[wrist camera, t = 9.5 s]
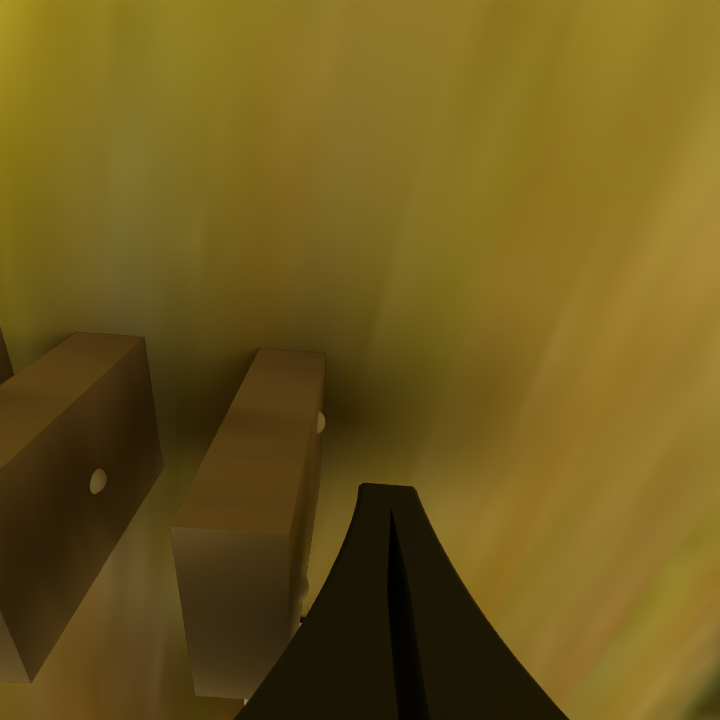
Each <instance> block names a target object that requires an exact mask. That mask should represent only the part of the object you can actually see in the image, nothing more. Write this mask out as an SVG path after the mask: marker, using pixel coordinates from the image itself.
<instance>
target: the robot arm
mask: <svg viewBox="0 0 720 720" xmlns="http://www.w3.org/2000/svg"><path fill="white" fill-rule="evenodd" d="M234 720H569V718H568V717H567V716H566V715H565V714H564V713H563V712H562V711H561V710H560V709H559V708H558V707H557V706H556V704H555V703H554V702H553V701H552V700H551V699H550V697H549V696H548V695H547V694H546V693H545V692H544V690H543V689H542V688H541V687H540V686H539V684H538V683H537V682H536V681H535V680H534V679H533V677H532V676H531V675H530V674H529V673H528V672H527V670H526V669H525V668H524V667H523V666H522V664H521V663H520V662H519V661H518V660H517V658H516V657H515V656H514V655H513V653H512V652H511V651H510V649H509V648H508V647H507V645H506V644H505V643H504V642H503V640H502V639H501V638H500V636H499V635H498V634H497V632H496V631H495V630H494V628H493V627H492V625H491V624H490V623H489V621H488V620H487V618H486V617H485V616H484V614H483V613H482V611H481V610H480V608H479V607H478V605H477V604H476V602H475V601H474V599H473V598H472V596H471V595H470V593H469V592H468V590H467V588H466V587H465V585H464V584H463V582H462V580H461V579H460V577H459V575H458V574H457V572H456V570H455V569H454V567H453V565H452V564H451V562H450V560H449V558H448V556H447V554H446V553H445V551H444V549H443V547H442V545H441V543H440V542H439V540H438V538H437V536H436V534H435V532H434V530H433V528H432V526H431V524H430V522H429V519H428V517H427V515H426V513H425V511H424V508H423V506H422V504H421V501H420V499H419V496H418V494H417V491H416V490H415V489H414V487H412V486H399V485H386V484H373V483H363V484H361V485H360V486H359V489H358V498H357V503H356V507H355V511H354V514H353V517H352V521H351V524H350V526H349V529H348V532H347V534H346V537H345V539H344V542H343V544H342V547H341V549H340V552H339V554H338V556H337V558H336V560H335V562H334V564H333V567H332V569H331V571H330V573H329V575H328V577H327V579H326V581H325V583H324V585H323V587H322V589H321V591H320V593H319V594H318V596H317V598H316V600H315V602H314V603H313V605H312V607H311V609H310V610H309V612H308V614H307V616H306V617H305V619H304V621H303V622H302V623H299V629H298V630H297V632H296V633H295V635H294V637H293V638H292V640H291V641H290V643H289V645H288V646H287V648H286V649H285V651H284V652H283V654H282V655H281V657H280V658H279V659H278V661H277V662H276V664H275V665H274V667H273V668H272V669H271V671H270V672H269V673H268V675H267V676H266V678H265V679H264V680H263V682H262V683H261V684H260V686H259V687H258V688H257V690H256V691H255V693H254V694H253V695H252V697H251V698H250V699H249V700H248V699H244V707H243V709H242V710H241V711H240V712H239V714H238V715H237V716H236V717H235V718H234Z"/></svg>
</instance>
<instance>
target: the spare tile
mask: <svg viewBox="0 0 720 720" xmlns="http://www.w3.org/2000/svg"><path fill="white" fill-rule="evenodd" d="M325 358H326V353H316V352H303V351H289V350H276V349H263V348H260V349H259V350H258V352H257V354H256V356H255V358H254V360H253V362H252V364H251V366H250V368H249V370H248V372H247V374H246V376H245V378H244V380H243V382H242V384H241V386H240V388H239V390H238V392H237V394H236V396H235V398H234V400H233V402H232V404H231V406H230V408H229V410H228V412H227V414H226V416H225V418H224V420H223V421H222V423H221V425H220V427H219V429H218V431H217V433H216V435H215V437H214V439H213V441H212V443H211V445H210V447H209V449H208V451H207V453H206V455H205V457H204V459H203V461H202V463H201V465H200V467H199V469H198V471H197V473H196V475H195V477H194V479H193V481H192V483H191V485H190V487H189V489H188V491H187V493H186V494H185V496H184V498H183V500H182V502H181V504H180V506H179V508H178V510H177V512H176V514H175V516H174V518H173V520H172V522H171V524H170V526H169V528H170V534H171V541H172V547H173V554H174V560H175V567H176V573H177V580H178V587H179V593H180V600H181V606H182V613H183V619H184V626H185V632H186V639H187V645H188V652H189V658H190V665H191V672H192V678H193V685H194V691H195V696H202V697H217V698H233V699H248V700H249V699H250V698H251V697H252V695H253V694H254V693H255V691H256V690H257V688H258V687H259V686H260V684H261V683H262V682H263V680H264V679H265V678H266V676H267V675H268V673H269V672H270V671H271V669H272V668H273V667H274V665H275V664H276V662H277V661H278V659H279V658H280V657H281V655H282V654H283V652H284V651H285V649H286V648H287V646H288V645H289V643H290V641H291V640H292V638H293V637H294V635H295V633H296V632H297V630H298V629H299V623H300V616H301V609H302V603H303V599H304V598H305V597H306V595H307V593H308V590H309V583H308V580H307V578H306V575H307V568H308V561H309V554H310V547H311V540H312V533H313V526H314V519H315V513H316V506H317V499H318V492H319V485H320V471H321V448H322V430H323V429H324V427H325V418H324V416H323V403H324V380H325Z"/></svg>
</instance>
